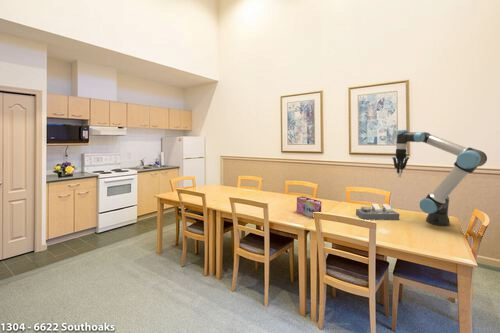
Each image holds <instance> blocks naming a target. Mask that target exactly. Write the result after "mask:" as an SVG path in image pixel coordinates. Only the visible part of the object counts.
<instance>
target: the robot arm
mask: <svg viewBox="0 0 500 333" xmlns="http://www.w3.org/2000/svg"><path fill="white" fill-rule="evenodd" d="M409 142H411V143H424V144H426V145H429V146H431V147H434V148H437V149H440V150H441V151H444V152H446V153H449V154H452V155H454V156H457V157H456V161H455V162H454V163H453V168H452V169H451V170H450V172H449V173H448V174H447V175H446V176H445V177H444V179H443V180H442V181H441V182H440V183H439V184H438V186H437V187H436V189H435V188H434V191H432V192H429V193H428V194H427V195H426V196H425V197H424V198H422V199H421V200H420V201H419V203H418V204H419V208H420V210H421V211H422V212H424V214H427V217H426V218H425V222H426V223H428V224H431V225H433V226H434V225H435V226H441V227H447V226H450V219H449V218H450V217H449V215H448V213H449V204H450V194H452V192H453V191H454V190H455V189H456V188H457V187H458V186H459V184H461V182H462V181H463V180H464V179H465V178H466V176H467V175H469V174H472V173H474V172H475V171H476V169H477V168H478V167H482V166H484V165H485V164H486V163H487V160H488V156H487V154H486V153H485V152H484V151H482V150H479V149H476V148H473V147H470V146H469V147H466V146H463V145H460V144H458V143H454V142H452V141H449V140H447V139H444V138H442V137H441V138H440V137H438V136H436V135H433V134H431V133H430V132H427V131H426V132H425V131H422V132H420V131H417V132H416V131H415V132H413V131H412V132H410V131H409V130H408V129H399V130H397V133H396V145H395V155H394V156H392V157H391V159H392V160H393V161H392V162H393V165H394V169H395V170H396V174H397V178H402V174H403V170H404V169H406V167H407V163H408V160H409V159H410V157H408V156H407V149H408V148H407V145H408V143H409Z"/></svg>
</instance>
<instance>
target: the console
mask: <svg viewBox="0 0 500 333" xmlns="http://www.w3.org/2000/svg"><path fill="white" fill-rule="evenodd" d="M363 207H364V206H360V208H356V209H355V215H356V216H357V217H358V216H359V217H358V218H359V219H361V220H362V219H366V220H367V221H370V220H371V221H372V220H373V221H376V220H377V221H379V220H380V221H381V220H382V221H399V220H400V213H399V212H396V211H394V210H393V212H386V211H385V208H384V207H382V206H379V207H380V208H381V210H382V212H375V210H374V207H372V206H371V209H363ZM390 207H391V208H392V209H393V207H392V206H390ZM369 219H370V220H369ZM374 219H376V220H374ZM366 220H365V221H366Z"/></svg>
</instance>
